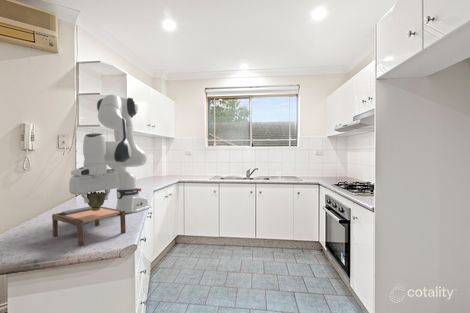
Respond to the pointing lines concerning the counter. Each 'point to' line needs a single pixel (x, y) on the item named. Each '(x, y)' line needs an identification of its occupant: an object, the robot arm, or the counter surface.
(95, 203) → the bronze rounded piece
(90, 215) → the trapdoor
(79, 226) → the frame
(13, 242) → the counter surface
